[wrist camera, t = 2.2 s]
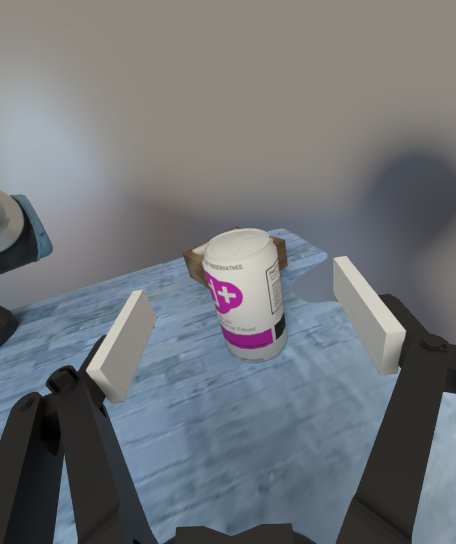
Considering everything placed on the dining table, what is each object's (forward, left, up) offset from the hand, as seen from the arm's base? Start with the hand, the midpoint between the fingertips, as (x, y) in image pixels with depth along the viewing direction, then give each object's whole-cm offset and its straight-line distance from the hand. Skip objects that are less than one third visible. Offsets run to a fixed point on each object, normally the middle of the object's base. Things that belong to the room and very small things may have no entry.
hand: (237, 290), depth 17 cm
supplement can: (-8, +6, -16) cm, 19 cm away
